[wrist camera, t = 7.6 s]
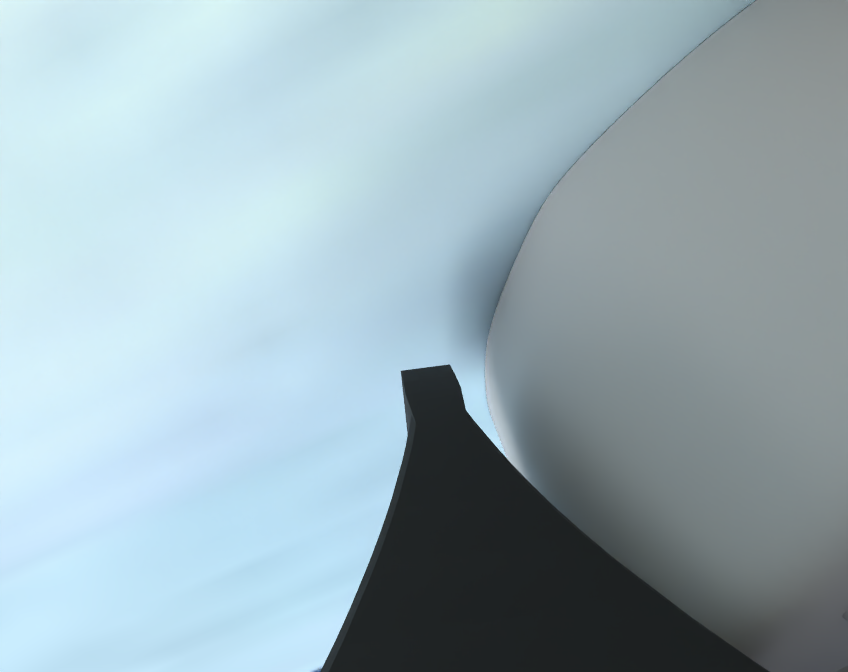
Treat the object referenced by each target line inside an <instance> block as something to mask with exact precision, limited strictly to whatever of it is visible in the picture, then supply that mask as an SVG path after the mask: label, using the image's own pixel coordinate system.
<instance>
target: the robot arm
mask: <svg viewBox="0 0 848 672" xmlns="http://www.w3.org/2000/svg"><path fill="white" fill-rule="evenodd" d="M401 376H402V385H403V395H404V404H405V413H406V422H407V432H408V437H407V443H406V448H405V452H404V456H403V461H402V464H401V468H400V471H399V475H398V478H397V482H396V486H395V489H394V493H393V496H392V500H391V503H390V506H389V509H388V512H387V515H386V518H385V521H384V524H383V527H382V530H381V532H380V535H379V538H378V540H377V543H376V546H375V549H374V551H373V554H372V557H371V559H370V562H369V564H368V567H367V569H366V572H365V574H364V576H363V579H362V581H361V584H360V586H359V588H358V591H357V593H356V596H355V598H354V600H353V603H352V605H351V608H350V610H349V612H348V614H347V617H346V619H345V621H344V623H343V626H342V628H341V630H340V632H339V634H338V637H337V639H336V641H335V643H334V645H333V647H332V649H331V651H330V653H329V655H328V657H327V659H326V661H325V663H324V666H323V668H322V670H321V672H770V671H768V670H767V669H765V668H764V667H762V666H761V665H759V664H758V663H756V662H755V661H753V660H752V659H750V658H749V657H748V656H746V655H745V654H743V653H742V652H740V651H739V650H738V649H736V648H735V647H733V646H732V645H730V644H729V643H728V642H726V641H725V640H723V639H722V638H720V637H719V636H718V635H716V634H715V633H713V632H712V631H710V630H709V629H708V628H706V627H705V626H703V625H702V624H700V623H699V622H698V621H696V620H695V619H693V618H692V617H691V616H689V615H688V614H687V613H685V612H684V611H683V610H681V609H680V608H679V607H677V606H676V605H675V604H673V603H672V602H671V601H670V600H668V599H667V598H666V597H664V596H663V595H662V594H660V593H659V592H658V591H656V590H655V589H654V588H652V587H651V586H650V585H649V584H647V583H646V582H645V581H643V580H642V579H641V578H639V577H638V576H637V575H635V574H634V573H633V572H631V571H630V570H629V569H628V568H626V567H625V566H624V565H622V564H621V563H620V562H618V561H617V560H616V559H615V558H613V557H612V556H611V555H610V554H609V553H607V552H606V551H605V550H604V549H603V548H601V547H600V546H599V545H598V544H597V543H596V542H594V541H593V540H592V539H591V538H590V537H588V536H587V535H586V534H585V533H584V532H583V531H581V530H580V529H579V528H578V527H577V526H576V525H575V524H573V523H572V522H571V521H570V520H569V519H568V518H567V517H566V516H565V515H563V514H562V513H561V512H560V511H559V510H558V509H557V508H556V507H555V506H553V505H552V504H551V503H550V502H549V501H548V500H547V499H546V498H545V497H544V496H543V495H542V494H541V493H540V492H539V491H538V490H537V489H536V488H535V487H534V486H533V485H532V484H531V483H530V482H529V481H528V480H527V479H526V478H525V477H524V476H523V475H522V474H521V473H520V472H519V471H518V470H517V469H516V468H515V467H514V466H513V465H512V464H511V463H510V462H509V460H508V459H507V458H506V457H505V456H504V455H503V454H502V453H501V452H500V451H499V449H498V448H497V447H496V446H495V445H494V444H493V443H492V441H491V440H490V439H489V438H488V437H487V435H486V434H485V433H484V432H483V431H482V430H481V428H480V427H479V426H478V425H477V424H476V423H475V421H474V420H473V419H472V417H471V416H470V415H469V414H468V412H467V411H466V409H465V404H464V400H463V395H462V391H461V387H460V385H459V382H458V380H457V378H456V376H455V374H454V372H453V370H452V368H451V366H450V365H443V366H435V367H427V368H420V369H412V370H404V371H401Z"/></svg>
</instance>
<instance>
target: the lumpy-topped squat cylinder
mask: <svg viewBox="0 0 848 672" xmlns="http://www.w3.org/2000/svg"><path fill="white" fill-rule="evenodd" d="M485 386H486V396H487V403H488V407H489V411H490V415H491V417H492V420H493V423H494V425H495V428H496V431H497V433H498V436H499V438H500V441H501V444H502V446H503V449H504V452H505V454H506V457H507V459H508V460H509V462H510V463H511V464H512V465H513V466H514V467H515V468H516V469H517V470H518V471H519V472H520V473H521V474H522V475H523V476H524V477H525V478H526V479H527V480H528V481H529V482H530V483H531V484H532V485H533V486H534V487H535V488H536V489H537V490H538V491H539V492H540V493H541V494H542V495H543V496H544V497H545V498H546V499H547V500H548V501H549V502H550V503H551V504H552V505H553V506H555V507H556V508H557V509H558V510H559V511H560V512H561V513H562V514H563V515H565V516H566V517H567V518H568V519H569V520H570V521H571V522H572V523H573V524H575V525H576V526H577V527H578V528H579V529H580V530H581V531H583V532H584V533H585V534H586V535H587V536H588V537H590V538H591V539H592V540H593V541H594V542H596V543H597V544H598V545H599V546H600V547H601V548H603V549H604V550H605V551H606V552H607V553H609V554H610V555H611V556H612V557H613V558H615V559H616V560H617V561H618V562H620V563H621V564H622V565H624V566H625V567H626V568H628V569H629V570H630V571H631V572H633V573H634V574H635V575H637V576H638V577H639V578H641V579H642V580H643V581H645V582H646V583H647V584H649V585H650V586H651V587H652V588H654V589H655V590H656V591H658V592H659V593H660V594H662V595H663V596H664V597H666V598H667V599H668V600H670V601H671V602H672V603H673V604H675V605H676V606H677V607H679V608H680V609H681V610H683V611H684V612H685V613H687V614H688V615H689V616H691V617H692V618H693V619H695V620H696V621H698V622H699V623H700V624H702V625H703V626H705V627H706V628H708V629H709V630H710V631H712V632H713V633H715V634H716V635H718V636H719V637H720V638H722V639H723V640H725V641H726V642H728V643H729V644H730V645H732V646H733V647H735V648H736V649H738V650H739V651H740V652H742V653H743V654H745V655H746V656H748V657H749V658H750V659H752V660H753V661H755V662H756V663H758V664H759V665H761V666H762V667H764V668H765V669H767V670H768V671H770V672H848V0H756V1H755V2H753V3H752V4H751V5H749V6H748V7H747V8H745V9H744V10H743V11H742V12H740V13H739V14H738V15H736V16H735V17H734V18H732V19H731V20H730V21H729V22H727V23H726V24H725V25H723V26H722V27H721V28H720V29H718V30H717V31H716V32H715V33H713V34H712V35H711V36H710V37H709V38H707V39H706V40H705V41H704V42H703V43H701V44H700V45H699V46H698V47H697V48H695V49H694V50H693V51H692V52H691V53H690V54H688V55H687V56H686V57H685V58H684V59H683V60H682V61H680V62H679V63H678V64H677V65H676V66H675V67H674V68H672V69H671V70H670V71H669V72H668V73H667V74H666V75H665V76H664V77H662V78H661V79H660V80H659V81H658V82H657V83H656V84H655V85H654V86H653V87H652V88H650V89H649V90H648V91H647V92H646V93H645V94H644V95H643V96H642V97H641V98H640V99H639V100H638V101H636V102H635V103H634V104H633V105H632V106H631V107H630V108H629V109H628V110H627V111H626V112H625V113H624V114H623V115H622V116H621V117H620V118H619V119H618V120H617V121H616V122H615V123H614V124H613V125H611V126H610V127H609V128H608V129H607V130H606V131H605V132H604V133H603V134H602V135H601V136H600V137H599V138H598V139H597V140H596V141H595V143H594V144H593V145H592V146H591V147H590V148H589V149H588V150H587V151H586V152H585V153H584V154H583V155H582V156H581V157H580V158H579V159H578V160H577V162H576V163H575V164H574V165H573V166H572V167H571V168H570V169H569V170H568V172H567V173H566V174H565V175H564V176H563V177H562V179H561V180H560V181H559V182H558V184H557V185H556V186H555V188H554V189H553V190H552V192H551V193H550V194H549V196H548V197H547V199H546V200H545V202H544V204H543V205H542V207H541V209H540V210H539V212H538V214H537V216H536V218H535V219H534V221H533V223H532V225H531V227H530V229H529V231H528V233H527V236H526V238H525V240H524V242H523V244H522V246H521V248H520V251H519V253H518V255H517V257H516V260H515V262H514V264H513V267H512V269H511V271H510V274H509V276H508V279H507V281H506V284H505V286H504V289H503V291H502V294H501V297H500V299H499V302H498V305H497V308H496V311H495V314H494V317H493V320H492V323H491V327H490V331H489V335H488V340H487V346H486V358H485Z"/></svg>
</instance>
